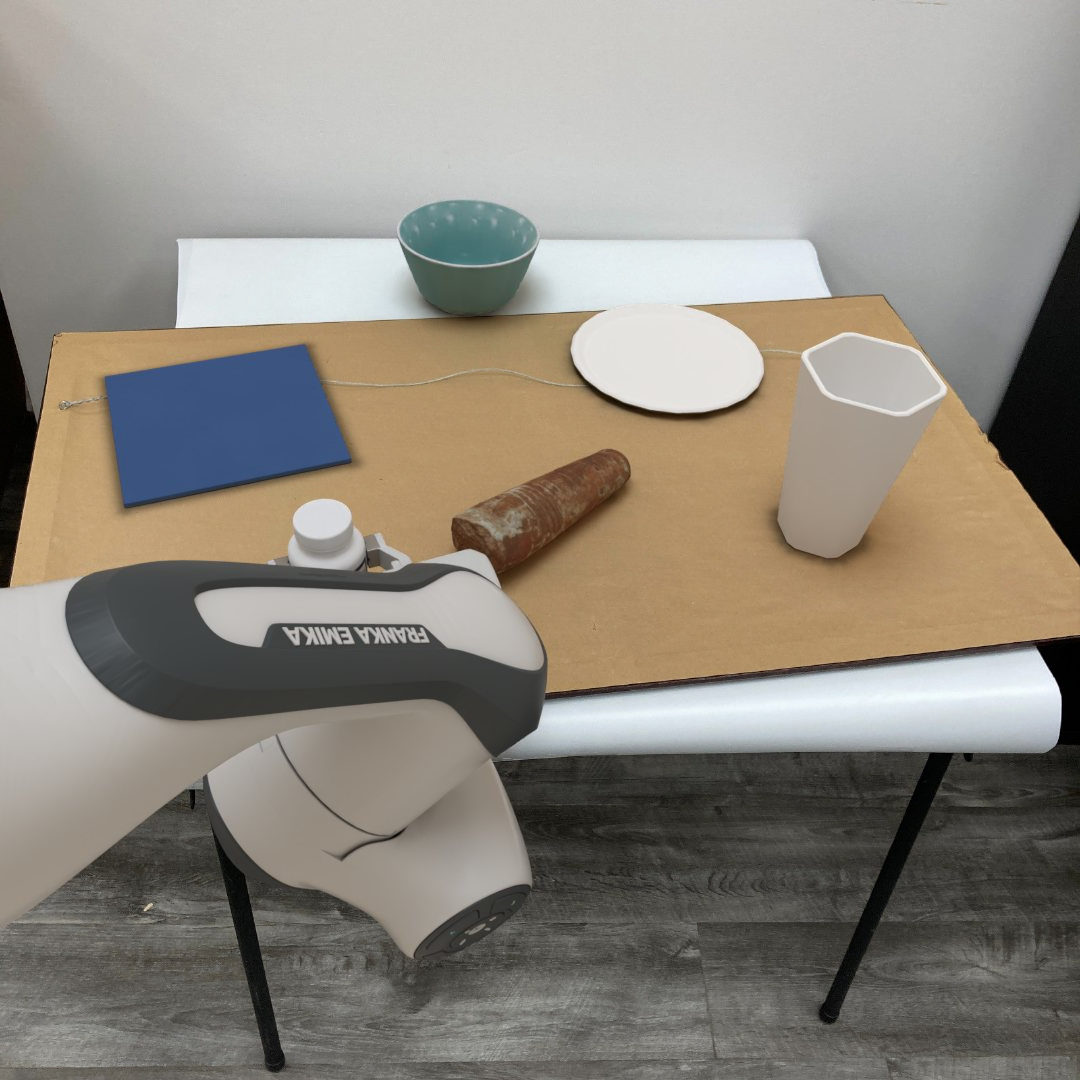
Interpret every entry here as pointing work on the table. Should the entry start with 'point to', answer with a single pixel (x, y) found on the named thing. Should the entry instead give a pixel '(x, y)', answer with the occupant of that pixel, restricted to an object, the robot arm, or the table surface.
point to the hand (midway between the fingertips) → (325, 552)
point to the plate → (667, 358)
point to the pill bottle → (326, 538)
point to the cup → (851, 437)
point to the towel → (220, 424)
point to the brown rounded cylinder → (538, 509)
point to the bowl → (467, 253)
